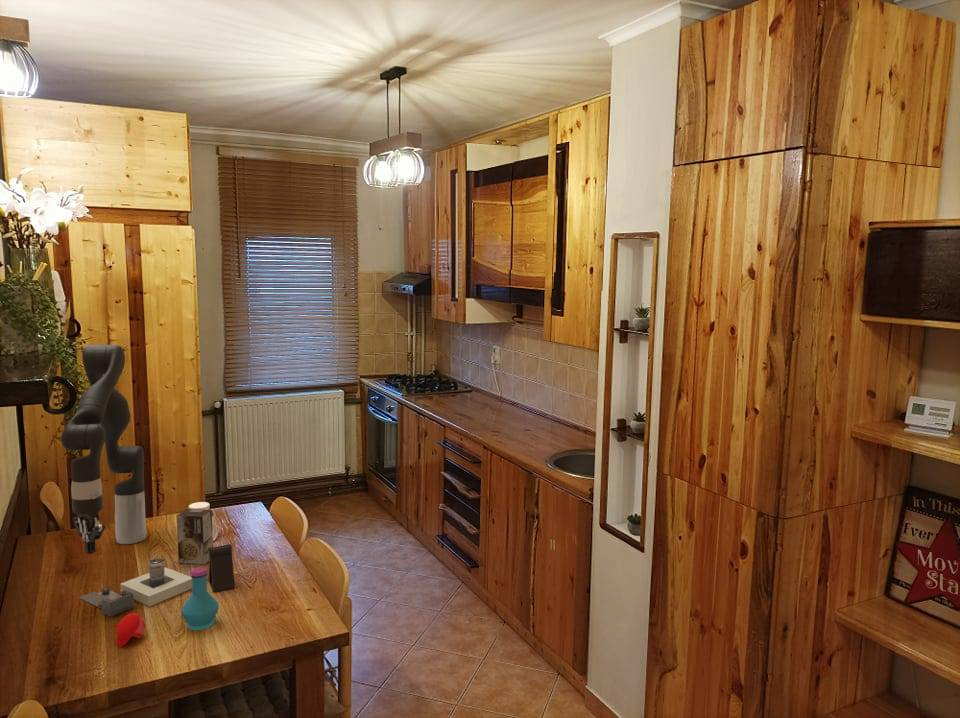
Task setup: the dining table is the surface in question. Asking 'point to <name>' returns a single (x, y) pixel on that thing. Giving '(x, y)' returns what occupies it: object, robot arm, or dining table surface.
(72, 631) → the dining table surface
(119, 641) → the cap
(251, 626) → the dining table surface
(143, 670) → the dining table surface
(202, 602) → the perfume bottle
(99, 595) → the bolt
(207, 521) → the coffee box
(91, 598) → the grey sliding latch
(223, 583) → the phone stand
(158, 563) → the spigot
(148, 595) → the socket
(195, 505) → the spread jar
